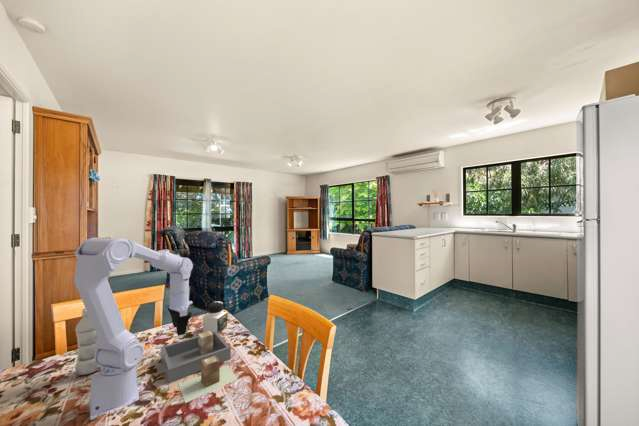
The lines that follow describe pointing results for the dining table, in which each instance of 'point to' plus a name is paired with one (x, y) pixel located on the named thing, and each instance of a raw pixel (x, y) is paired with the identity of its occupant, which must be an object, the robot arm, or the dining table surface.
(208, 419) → the dining table surface
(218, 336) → the bin
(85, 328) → the plastic bottle
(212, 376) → the walnut block
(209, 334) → the birch block
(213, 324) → the medicine bottle
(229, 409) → the dining table surface
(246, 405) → the dining table surface
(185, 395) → the board
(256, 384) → the dining table surface
